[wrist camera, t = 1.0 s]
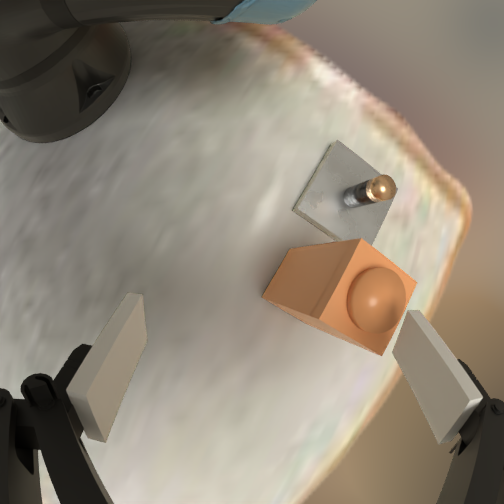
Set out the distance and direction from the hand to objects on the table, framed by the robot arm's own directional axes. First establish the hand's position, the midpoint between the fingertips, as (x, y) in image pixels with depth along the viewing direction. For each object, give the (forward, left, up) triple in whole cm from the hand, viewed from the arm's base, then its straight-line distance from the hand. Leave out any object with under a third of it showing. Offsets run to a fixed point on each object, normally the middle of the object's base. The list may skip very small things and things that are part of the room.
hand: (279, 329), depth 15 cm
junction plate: (-7, +11, -13) cm, 19 cm away
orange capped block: (0, +5, -13) cm, 14 cm away
